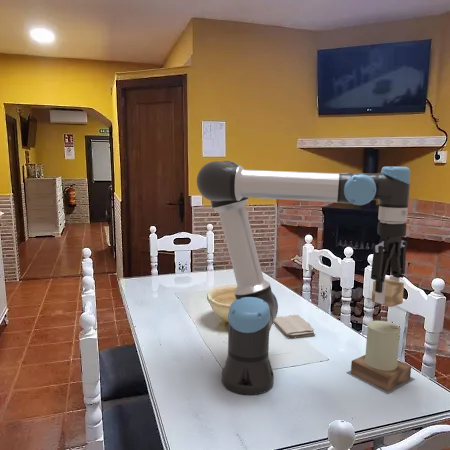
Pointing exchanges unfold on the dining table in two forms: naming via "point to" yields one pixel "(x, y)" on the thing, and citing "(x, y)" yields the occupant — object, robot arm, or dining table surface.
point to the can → (382, 345)
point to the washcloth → (294, 326)
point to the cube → (391, 293)
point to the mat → (380, 388)
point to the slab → (381, 374)
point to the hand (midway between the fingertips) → (386, 300)
